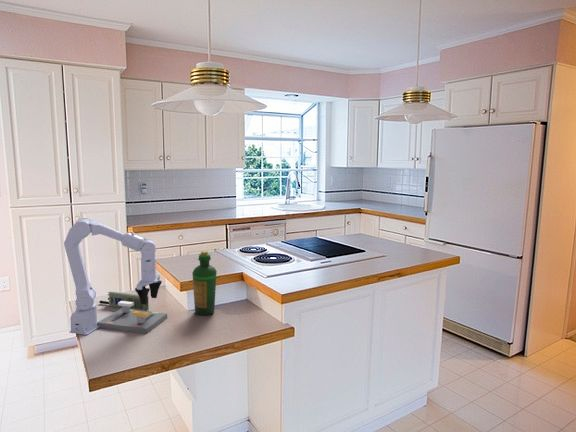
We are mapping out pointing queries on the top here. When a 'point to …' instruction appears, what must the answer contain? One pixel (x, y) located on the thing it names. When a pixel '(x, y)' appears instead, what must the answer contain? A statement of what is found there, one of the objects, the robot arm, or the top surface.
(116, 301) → the handheld radio
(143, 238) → the robot arm
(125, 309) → the white switch
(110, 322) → the switch panel
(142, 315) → the amber switch
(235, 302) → the top surface
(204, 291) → the bottle
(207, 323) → the top surface
